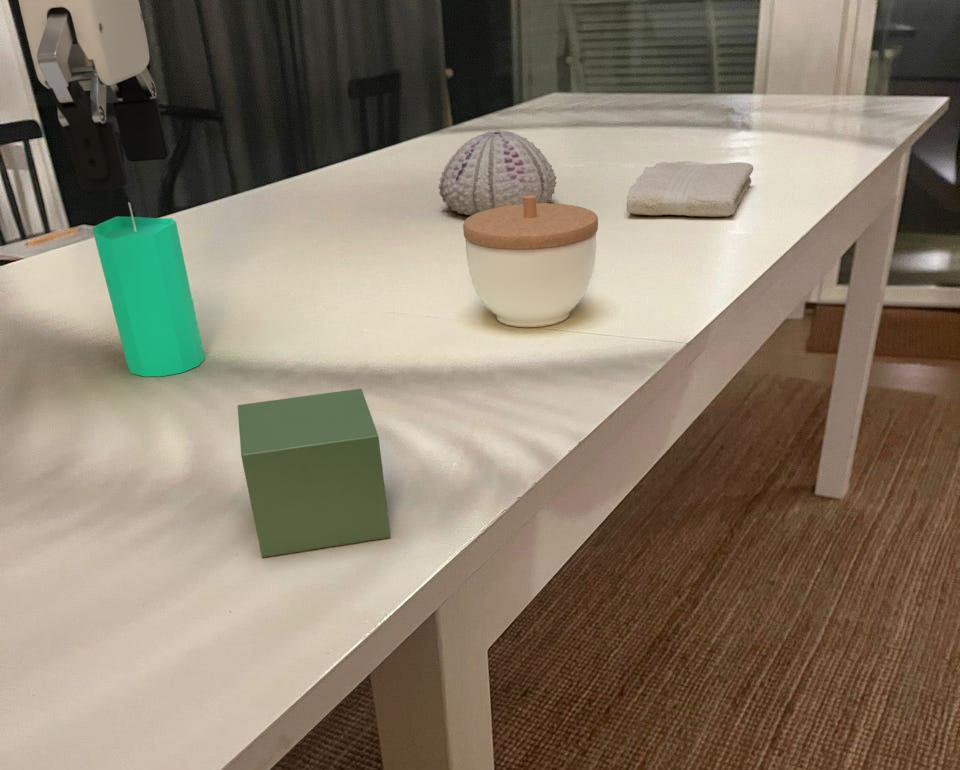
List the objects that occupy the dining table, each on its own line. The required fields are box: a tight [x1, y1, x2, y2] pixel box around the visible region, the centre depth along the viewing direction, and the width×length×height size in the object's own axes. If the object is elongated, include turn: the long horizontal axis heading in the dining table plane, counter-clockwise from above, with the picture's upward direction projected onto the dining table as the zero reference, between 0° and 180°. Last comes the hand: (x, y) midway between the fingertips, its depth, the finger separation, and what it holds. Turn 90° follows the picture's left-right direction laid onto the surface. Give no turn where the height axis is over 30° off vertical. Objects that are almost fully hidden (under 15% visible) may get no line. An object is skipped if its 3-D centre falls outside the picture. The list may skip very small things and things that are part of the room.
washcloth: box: [626, 160, 754, 218], centre depth 117 cm, size 12×18×3 cm, turn 162°
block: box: [237, 388, 391, 558], centre depth 57 cm, size 7×7×6 cm
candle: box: [91, 201, 206, 378], centre depth 79 cm, size 6×6×12 cm
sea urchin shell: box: [438, 130, 557, 217], centre depth 117 cm, size 13×14×8 cm
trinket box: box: [462, 195, 599, 328], centre depth 84 cm, size 11×11×9 cm
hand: (128, 173), depth 74 cm, fingers open, 9 cm apart
